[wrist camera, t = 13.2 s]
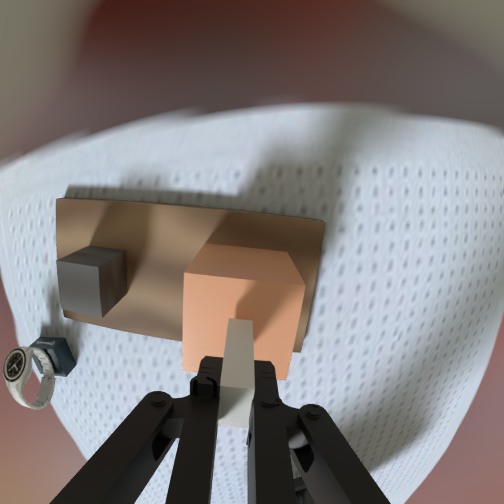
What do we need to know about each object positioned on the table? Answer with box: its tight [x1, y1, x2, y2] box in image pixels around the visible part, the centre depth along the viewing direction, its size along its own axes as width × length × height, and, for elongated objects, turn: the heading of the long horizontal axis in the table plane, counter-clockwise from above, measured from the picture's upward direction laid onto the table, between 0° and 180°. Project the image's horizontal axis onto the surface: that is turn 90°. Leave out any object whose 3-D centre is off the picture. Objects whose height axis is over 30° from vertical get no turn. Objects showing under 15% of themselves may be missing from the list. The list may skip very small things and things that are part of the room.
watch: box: [3, 337, 76, 410], centre depth 26 cm, size 6×8×11 cm
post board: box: [56, 198, 325, 353], centre depth 25 cm, size 14×28×8 cm, turn 84°
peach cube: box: [183, 243, 306, 380], centre depth 23 cm, size 8×8×9 cm
